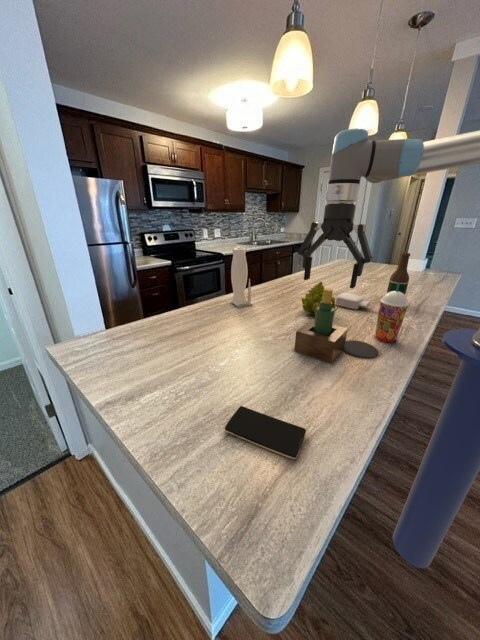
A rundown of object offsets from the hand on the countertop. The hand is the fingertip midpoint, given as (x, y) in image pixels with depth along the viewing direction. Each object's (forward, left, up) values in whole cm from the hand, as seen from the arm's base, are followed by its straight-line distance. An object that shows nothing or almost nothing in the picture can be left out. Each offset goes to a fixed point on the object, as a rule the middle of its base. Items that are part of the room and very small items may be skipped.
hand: (328, 283), depth 76 cm
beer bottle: (-10, -67, -22) cm, 71 cm away
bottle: (0, 0, -22) cm, 22 cm away
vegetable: (+14, -30, -22) cm, 40 cm away
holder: (0, 0, -22) cm, 22 cm away
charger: (+3, -49, -22) cm, 54 cm away
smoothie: (-15, -22, -22) cm, 35 cm away
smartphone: (-5, +40, -22) cm, 46 cm away
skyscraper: (+47, -18, -22) cm, 55 cm away
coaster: (-10, -8, -22) cm, 25 cm away
